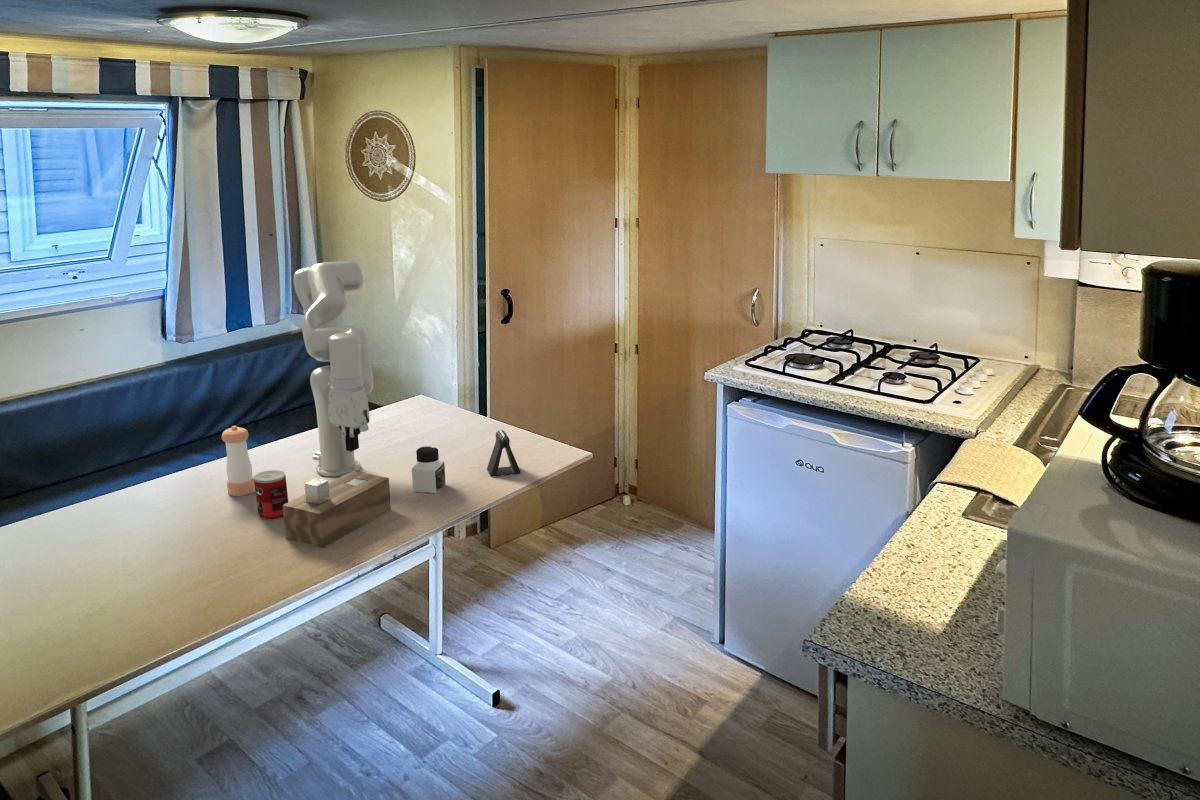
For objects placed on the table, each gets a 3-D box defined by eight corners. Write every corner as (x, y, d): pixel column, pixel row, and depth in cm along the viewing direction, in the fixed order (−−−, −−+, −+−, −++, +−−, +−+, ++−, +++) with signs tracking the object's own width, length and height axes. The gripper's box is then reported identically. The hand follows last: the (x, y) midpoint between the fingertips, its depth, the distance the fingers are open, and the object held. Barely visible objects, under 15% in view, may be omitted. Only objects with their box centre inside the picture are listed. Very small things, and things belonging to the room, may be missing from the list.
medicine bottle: (437, 493, 267) (434, 453, 263) (412, 492, 268) (410, 451, 265) (445, 484, 273) (443, 444, 270) (422, 482, 275) (419, 443, 271)
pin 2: (347, 511, 253) (344, 483, 250) (357, 506, 256) (354, 478, 254) (359, 514, 251) (356, 485, 248) (369, 509, 254) (366, 480, 252)
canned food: (262, 509, 257) (257, 470, 254) (292, 507, 258) (288, 469, 255) (254, 520, 250) (249, 481, 247) (286, 519, 250) (281, 480, 247)
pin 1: (307, 513, 239) (304, 483, 237) (318, 507, 243) (315, 478, 240) (319, 516, 237) (316, 486, 235) (330, 510, 241) (328, 480, 238)
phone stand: (516, 466, 287) (515, 428, 283) (520, 473, 281) (519, 434, 278) (486, 470, 284) (485, 431, 281) (490, 477, 279) (488, 438, 275)
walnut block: (286, 538, 239) (282, 505, 237) (355, 501, 261) (353, 470, 259) (323, 547, 234) (319, 513, 231) (391, 509, 256) (388, 478, 254)
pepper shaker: (261, 488, 271) (253, 424, 265) (241, 497, 265) (233, 431, 259) (241, 484, 274) (234, 420, 268) (222, 493, 268) (213, 428, 262)
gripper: (314, 381, 243) (320, 449, 249) (360, 390, 237) (365, 459, 243) (334, 374, 250) (340, 440, 255) (380, 382, 243) (384, 449, 249)
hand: (352, 449), depth 249 cm, fingers closed
